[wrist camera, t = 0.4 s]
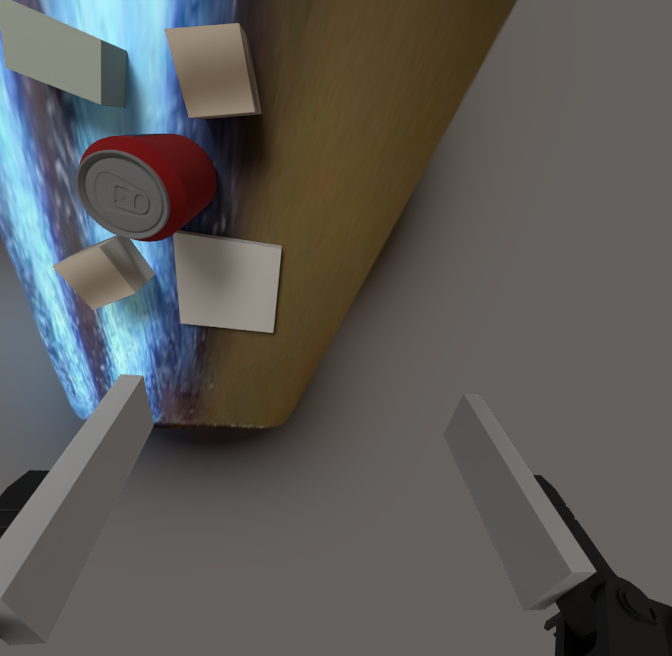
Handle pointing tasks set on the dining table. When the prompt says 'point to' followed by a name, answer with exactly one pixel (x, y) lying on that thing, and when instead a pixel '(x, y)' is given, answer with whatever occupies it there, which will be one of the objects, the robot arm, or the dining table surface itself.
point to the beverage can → (145, 184)
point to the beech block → (215, 70)
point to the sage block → (62, 55)
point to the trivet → (226, 281)
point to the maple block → (106, 271)
